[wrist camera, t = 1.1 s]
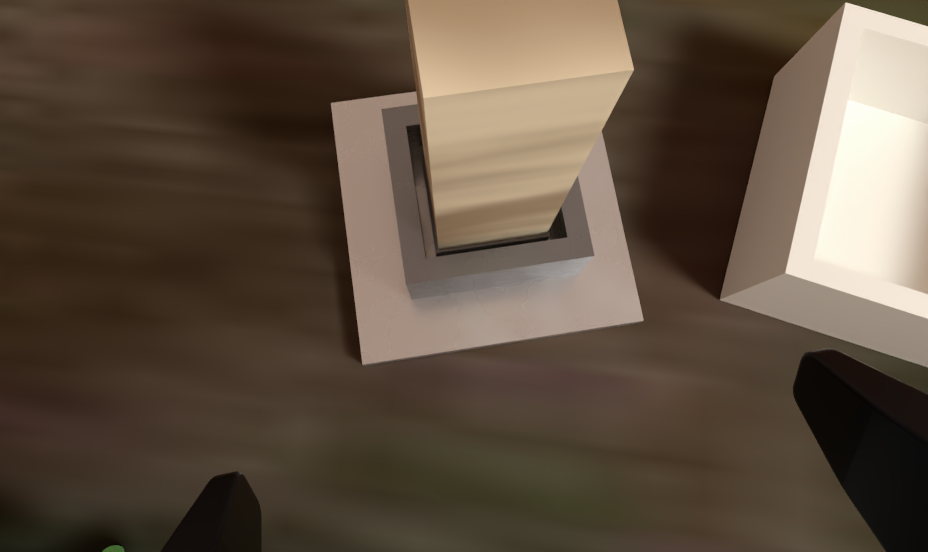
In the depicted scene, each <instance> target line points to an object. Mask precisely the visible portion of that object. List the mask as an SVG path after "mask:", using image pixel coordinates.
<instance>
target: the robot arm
mask: <svg viewBox="0 0 928 552" xmlns="http://www.w3.org/2000/svg"><path fill="white" fill-rule="evenodd" d="M793 394H794V398H795V401H796V403H797V405H798V407H799V409H800V410H801V412H802V414H803V416H804V418H805V420H806V422H807V423H808V425H809V427H810V429H811V431H812V433H813V435H814V436H815V438H816V440H817V442H818V444H819V446H820V448H821V449H822V451H823V453H824V455H825V457H826V459H827V461H828V462H829V464H830V466H831V468H832V470H833V472H834V473H835V475H836V477H837V479H838V480H839V482H840V484H841V485H842V487H843V489H844V490H845V492H846V493H847V495H848V496H849V498H850V499H851V501H852V502H853V504H854V505H855V507H856V508H857V510H858V511H859V513H860V514H861V516H862V517H863V519H864V520H865V522H866V523H867V525H868V526H869V527H870V529H871V530H872V532H873V533H874V535H875V536H876V538H877V539H878V541H879V542H880V544H881V545H882V547H883V548H884V550H885V551H886V552H928V394H927V393H925V392H923V391H921V390H919V389H916V388H914V387H912V386H910V385H908V384H906V383H904V382H902V381H900V380H898V379H896V378H894V377H892V376H889V375H887V374H885V373H883V372H881V371H879V370H877V369H875V368H873V367H871V366H869V365H867V364H865V363H863V362H860V361H858V360H856V359H854V358H852V357H850V356H848V355H846V354H844V353H842V352H840V351H838V350H835V349H832V348H823V349H819V350H814V351H809V352H806V353H805V354H804V355H803V356H802V358H801V361H800V364H799V368H798V371H797V375H796V378H795V382H794V385H793ZM161 552H261V509H260V505H259V502H258V500H257V498H256V496H255V494H254V492H253V490H252V489H251V487H250V485H249V483H248V481H247V480H246V478H245V476H244V475H243V474H242V473H241V472H231V473H226V474H222V475H217V476H215V477H213V478H212V479H211V480H210V481H209V482H208V484H207V485H206V487H205V488H204V489H203V491H202V492H201V494H200V495H199V497H198V498H197V500H196V501H195V502H194V504H193V505H192V507H191V508H190V510H189V511H188V513H187V514H186V515H185V517H184V518H183V520H182V521H181V523H180V524H179V526H178V527H177V528H176V530H175V531H174V533H173V534H172V536H171V537H170V539H169V540H168V541H167V543H166V544H165V546H164V547H163V549H162V550H161Z"/></svg>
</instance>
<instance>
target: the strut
mask: <svg viewBox="0 0 928 552" xmlns="http://www.w3.org/2000/svg"><path fill="white" fill-rule="evenodd" d="M405 4H406V12H407V20H408V29H409V37H410V45H411V53H412V62H413V70H414V78H415V86H416V95H417V103H418V111H419V119H420V128H421V136H422V144H423V146H420V150H421V158H422V165H423V172H424V179H425V185H426V192H427V198H428V205H429V211H430V218H431V225H432V231H433V238H434V244H435V251H436V257H439V256H446V255H453V254H459V253H466V252H473V251H480V250H486V249H493V248H500V247H507V246H513V245H520V244H527V243H533V242H540V241H547V240H548V238H549V237H550V235H549V229H550V227H551V225H552V223H553V221H554V219H555V217H556V215H557V213H558V212H559V210H560V208H561V206H562V204H563V202H564V200H565V198H566V197H567V195H568V193H569V191H570V189H571V187H572V185H573V183H574V181H575V180H576V178H577V176H578V174H579V172H580V170H581V168H582V166H583V165H584V163H585V161H586V159H587V157H588V155H589V153H590V151H591V149H592V148H593V146H594V144H595V142H596V140H597V138H598V136H599V134H600V133H601V131H602V129H603V127H604V125H605V123H606V121H607V119H608V117H609V116H610V114H611V112H612V110H613V108H614V106H615V104H616V102H617V101H618V99H619V97H620V95H621V93H622V91H623V89H624V87H625V85H626V84H627V82H628V80H629V78H630V76H631V74H632V72H633V70H634V68H633V64H632V60H631V56H630V51H629V47H628V43H627V39H626V35H625V31H624V26H623V22H622V18H621V14H620V10H619V6H618V1H617V0H405Z"/></svg>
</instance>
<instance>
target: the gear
mask: <svg viewBox="0 0 928 552" xmlns="http://www.w3.org/2000/svg"><path fill="white" fill-rule="evenodd" d="M103 552H124V548H123V547H122V546H119V545H113V546H109V547H107V548H106V549H104V550H103Z"/></svg>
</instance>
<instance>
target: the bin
mask: <svg viewBox="0 0 928 552" xmlns="http://www.w3.org/2000/svg"><path fill="white" fill-rule="evenodd" d="M720 300H721V301H724V302H727V303H731V304H734V305H737V306H740V307H743V308H746V309H749V310H752V311H755V312H758V313H761V314H765V315H768V316H771V317H774V318H777V319H780V320H783V321H786V322H789V323H792V324H795V325H798V326H802V327H805V328H808V329H811V330H814V331H817V332H820V333H823V334H826V335H829V336H832V337H836V338H839V339H842V340H845V341H848V342H851V343H854V344H857V345H860V346H863V347H866V348H869V349H873V350H876V351H879V352H882V353H885V354H888V355H891V356H894V357H897V358H900V359H903V360H907V361H910V362H913V363H916V364H919V365H922V366H925V367H928V27H927V26H924V25H921V24H917V23H914V22H910V21H907V20H904V19H900V18H897V17H893V16H890V15H887V14H883V13H880V12H876V11H873V10H870V9H866V8H863V7H859V6H856V5H853V4H849V3H845V4H844V5H843V6H842V7H841V8H840V9H839V10H838V11H837V12H836V13H835V14H834V15H833V16H832V17H831V18H830V19H829V20H828V21H827V22H826V23H825V24H824V25H823V26H822V28H821V29H820V30H819V31H818V32H817V33H816V34H815V35H814V36H813V37H812V38H811V39H810V40H809V41H808V42H807V43H806V44H805V45H804V46H803V47H802V48H801V49H800V50H799V51H798V52H797V53H796V54H795V55H794V56H793V58H792V59H791V60H790V61H789V62H788V63H787V64H786V65H785V66H784V67H783V68H782V69H781V70H780V71H779V72H778V73H777V74H776V75H775V76H774V79H773V83H772V87H771V92H770V96H769V100H768V104H767V108H766V112H765V116H764V120H763V124H762V128H761V132H760V136H759V141H758V145H757V149H756V153H755V157H754V161H753V165H752V169H751V173H750V177H749V181H748V185H747V190H746V194H745V198H744V202H743V206H742V210H741V214H740V218H739V222H738V226H737V230H736V234H735V238H734V243H733V247H732V251H731V255H730V259H729V263H728V267H727V271H726V275H725V279H724V283H723V287H722V292H721V296H720Z"/></svg>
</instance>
